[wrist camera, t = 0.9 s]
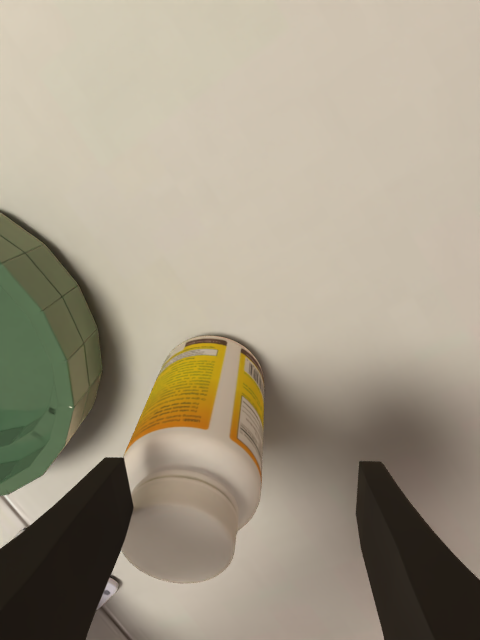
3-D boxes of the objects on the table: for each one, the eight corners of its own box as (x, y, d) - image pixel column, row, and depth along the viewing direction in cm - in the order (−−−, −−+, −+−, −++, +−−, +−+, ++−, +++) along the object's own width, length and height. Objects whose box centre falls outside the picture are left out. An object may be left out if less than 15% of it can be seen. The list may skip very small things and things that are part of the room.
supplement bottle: (146, 386, 24) (67, 557, 15) (194, 311, 22) (135, 458, 13) (231, 432, 25) (206, 618, 16) (285, 364, 23) (292, 536, 14)
